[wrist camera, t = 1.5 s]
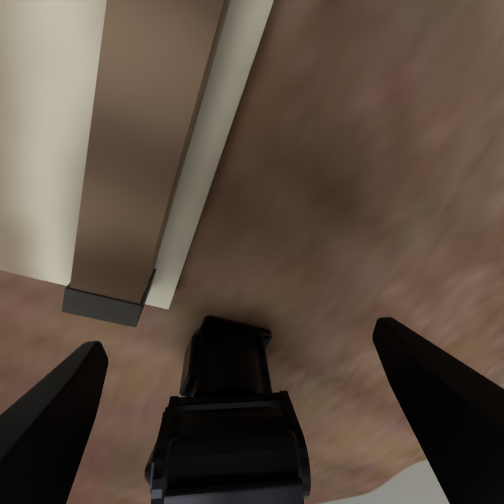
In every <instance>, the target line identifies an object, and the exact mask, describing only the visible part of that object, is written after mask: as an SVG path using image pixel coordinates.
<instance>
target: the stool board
mask: <svg viewBox="0 0 504 504" xmlns="http://www.w3.org/2000/svg"><path fill="white" fill-rule="evenodd" d="M273 1H274V0H231V1H230V5H229V8H228V12H227V15H226V19H225V22H224V26H223V29H222V33H221V36H220V40H219V43H218V47H217V50H216V54H215V57H214V61H213V64H212V68H211V71H210V75H209V78H208V82H207V85H206V89H205V92H204V96H203V99H202V103H201V106H200V110H199V113H198V117H197V120H196V124H195V127H194V131H193V134H192V138H191V141H190V144H189V148H188V151H187V155H186V158H185V162H184V165H183V169H182V172H181V176H180V179H179V183H178V186H177V190H176V193H175V197H174V200H173V204H172V207H171V211H170V214H169V218H168V221H167V225H166V228H165V232H164V235H163V239H162V242H161V246H160V249H159V253H158V256H157V260H156V263H155V267H154V268H155V269H156V272H155V276H154V279H153V283H152V286H151V289H150V292H149V294H148V297H147V300H146V302H145V304H147V305H151V306H155V307H160V308H164V309H168V310H169V307H170V304H171V301H172V298H173V295H174V292H175V289H176V286H177V283H178V280H179V277H180V274H181V271H182V268H183V266H184V263H185V260H186V257H187V254H188V251H189V248H190V245H191V242H192V239H193V236H194V233H195V230H196V227H197V224H198V222H199V219H200V216H201V213H202V210H203V207H204V204H205V201H206V198H207V195H208V192H209V189H210V186H211V183H212V180H213V177H214V175H215V172H216V169H217V166H218V163H219V160H220V157H221V154H222V151H223V148H224V145H225V142H226V139H227V136H228V133H229V131H230V128H231V125H232V122H233V119H234V116H235V113H236V110H237V107H238V104H239V101H240V98H241V95H242V92H243V89H244V87H245V84H246V81H247V78H248V75H249V72H250V69H251V66H252V63H253V60H254V57H255V54H256V51H257V48H258V45H259V43H260V40H261V37H262V34H263V31H264V28H265V25H266V22H267V19H268V16H269V13H270V10H271V7H272V4H273ZM106 2H107V0H0V270H1V271H6V272H10V273H14V274H18V275H23V276H27V277H31V278H36V279H40V280H44V281H48V282H53V283H57V284H61V285H65V286H68V284H69V283H70V281H71V273H72V265H73V258H74V250H75V242H76V234H77V227H78V219H79V211H80V203H81V196H82V188H83V180H84V172H85V165H86V157H87V149H88V142H89V134H90V126H91V118H92V111H93V103H94V95H95V87H96V80H97V72H98V64H99V57H100V49H101V41H102V33H103V26H104V18H105V10H106Z"/></svg>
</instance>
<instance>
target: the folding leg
mask: <svg viewBox="0 0 504 504" xmlns="http://www.w3.org/2000/svg"><path fill="white" fill-rule="evenodd" d="M230 1H231V0H107V2H106V10H105V18H104V26H103V33H102V41H101V49H100V57H99V64H98V72H97V80H96V87H95V95H94V103H93V111H92V118H91V126H90V134H89V142H88V149H87V157H86V165H85V172H84V180H83V188H82V196H81V203H80V211H79V219H78V227H77V234H76V242H75V250H74V258H73V265H72V273H71V281H70V283H69V284H68V286H67V287H66V288H65V292H64V300H63V309H62V312H65V313H70V314H75V315H80V316H84V317H89V318H94V319H99V320H103V321H108V322H113V323H118V324H122V325H127V326H132V327H136V326H137V323H138V321H139V318H140V315H141V313H142V310H143V307H144V305H145V302H146V300H147V297H148V294H149V292H150V289H151V286H152V283H153V279H154V276H155V272H156V269H155V268H154V267H155V263H156V260H157V256H158V253H159V249H160V246H161V242H162V239H163V235H164V232H165V228H166V225H167V221H168V218H169V214H170V211H171V207H172V204H173V200H174V197H175V193H176V190H177V186H178V183H179V179H180V176H181V172H182V169H183V165H184V162H185V158H186V155H187V151H188V148H189V144H190V141H191V138H192V134H193V131H194V127H195V124H196V120H197V117H198V113H199V110H200V106H201V103H202V99H203V96H204V92H205V89H206V85H207V82H208V78H209V75H210V71H211V68H212V64H213V61H214V57H215V54H216V50H217V47H218V43H219V40H220V36H221V33H222V29H223V26H224V22H225V19H226V15H227V12H228V8H229V5H230Z"/></svg>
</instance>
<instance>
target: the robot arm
mask: <svg viewBox="0 0 504 504" xmlns="http://www.w3.org/2000/svg"><path fill="white" fill-rule="evenodd" d="M207 322H211V323H207ZM265 335H267V336H265ZM271 338H272V336H271V332H270V331H268V330H265V329H260V328H256V327H252V326H248V325H243V324H239V323H235V322H231V321H226V320H222V319H218V318H214V317H206V318H204V320H203V322H202V325H201V327H200V329H199V332H198V334H197V335H194V336H193V337H192V339H191V341H190V344H189V346H188V348H187V351H186V353H185V358H184V365H183V372H182V379H181V386H180V395H181V396H184V397H178V396H171V397H170V401H169V405H168V407H166V409H165V412H163V417H162V422H161V427H160V431H159V434H158V438H157V441H156V444H155V446H154V449H153V451H152V453H151V456H150V458H149V460H148V463H147V465H146V469H145V479H146V481H147V482H148V483H149V485H150V492H151V504H304V498H308V497H309V494H310V487H311V476H310V465H309V457H308V452H307V447H306V443H305V439H304V436H303V433H302V430H301V427H300V425H299V422H298V419H297V416H296V414H295V411H294V408H293V406H292V403H291V400H290V397H289V395H288V392H287V391H280V392H276V393H272V388H271V382H270V376H269V370H268V365H267V359H266V353H265V348H266V346H267V345H268V343H269V341H270V340H271ZM373 342H374V345H375V347H376V350H377V352H378V355H379V358H380V360H381V363H382V366H383V368H384V371H385V373H386V376H387V378H388V381H389V383H390V386H391V388H392V390H393V392H394V394H395V396H396V398H397V400H398V402H399V404H400V406H401V408H402V410H403V412H404V414H405V416H406V418H407V420H408V422H409V424H410V426H411V428H412V430H413V432H414V434H415V436H416V438H417V440H418V442H419V444H420V446H421V448H422V450H423V452H424V454H425V456H426V457H427V459H428V461H429V463H430V465H431V467H432V469H433V471H434V473H435V475H436V477H437V479H438V481H439V483H440V485H441V487H442V489H443V491H444V493H445V495H446V497H447V499H448V501H449V503H450V504H504V389H503V388H501V387H500V386H498V385H497V384H495V383H494V382H492V381H490V380H489V379H487V378H486V377H484V376H483V375H481V374H479V373H478V372H476V371H475V370H473V369H472V368H470V367H469V366H467V365H465V364H464V363H462V362H461V361H459V360H458V359H456V358H455V357H453V356H451V355H450V354H448V353H447V352H445V351H444V350H442V349H440V348H439V347H437V346H436V345H434V344H433V343H431V342H430V341H428V340H426V339H425V338H423V337H422V336H420V335H419V334H417V333H415V332H414V331H412V330H411V329H409V328H408V327H406V326H405V325H403V324H401V323H400V322H398V321H397V320H395V319H394V318H392V317H382V318H379V319H378V320H377V322H376V325H375V329H374V332H373ZM107 367H108V357H107V355H106V352H105V350H104V348H103V346H102V344H101V342H99V341H91V342H85V343H84V344H82V345H81V346H80V347H79V348H78V349H76V350H75V351H74V352H73V353H72V354H71V355H69V356H68V357H67V358H66V359H65V360H64V361H62V362H61V363H60V364H59V365H58V366H57V367H56V368H54V369H53V370H52V371H51V372H50V373H49V374H47V375H46V376H45V377H44V378H43V379H42V380H40V381H39V382H38V383H37V384H36V385H35V386H34V387H32V388H31V389H30V390H29V391H28V392H27V393H25V394H24V395H23V396H22V397H21V398H20V399H18V400H17V401H16V402H15V403H14V404H13V405H11V406H10V407H9V408H8V409H7V410H6V411H4V412H3V413H2V414H1V415H0V504H66V502H67V499H68V496H69V493H70V491H71V488H72V485H73V482H74V479H75V476H76V473H77V470H78V467H79V464H80V461H81V459H82V456H83V453H84V450H85V447H86V444H87V441H88V438H89V435H90V432H91V429H92V427H93V424H94V420H95V417H96V414H97V410H98V406H99V402H100V398H101V393H102V389H103V385H104V380H105V376H106V372H107Z"/></svg>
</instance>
